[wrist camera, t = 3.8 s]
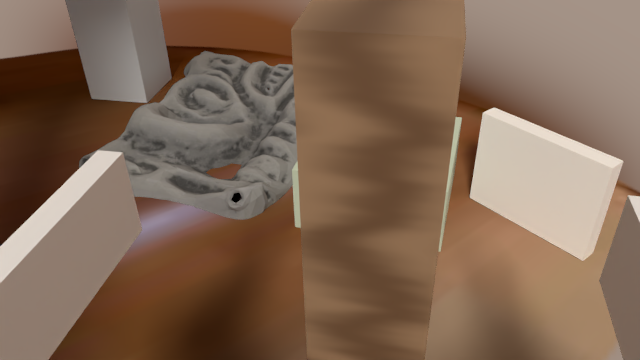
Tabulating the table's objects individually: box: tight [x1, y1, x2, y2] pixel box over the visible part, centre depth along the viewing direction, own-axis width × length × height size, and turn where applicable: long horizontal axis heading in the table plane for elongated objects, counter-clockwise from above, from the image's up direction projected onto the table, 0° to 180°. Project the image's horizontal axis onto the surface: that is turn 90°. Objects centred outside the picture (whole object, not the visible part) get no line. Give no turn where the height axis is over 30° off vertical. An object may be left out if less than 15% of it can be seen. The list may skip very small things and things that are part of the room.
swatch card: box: [470, 108, 623, 261], centre depth 37 cm, size 2×9×7 cm, turn 39°
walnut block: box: [291, 0, 466, 360], centre depth 27 cm, size 6×6×18 cm
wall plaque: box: [79, 51, 298, 219], centre depth 51 cm, size 24×19×4 cm
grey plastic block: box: [65, 0, 172, 103], centre depth 54 cm, size 6×6×18 cm
